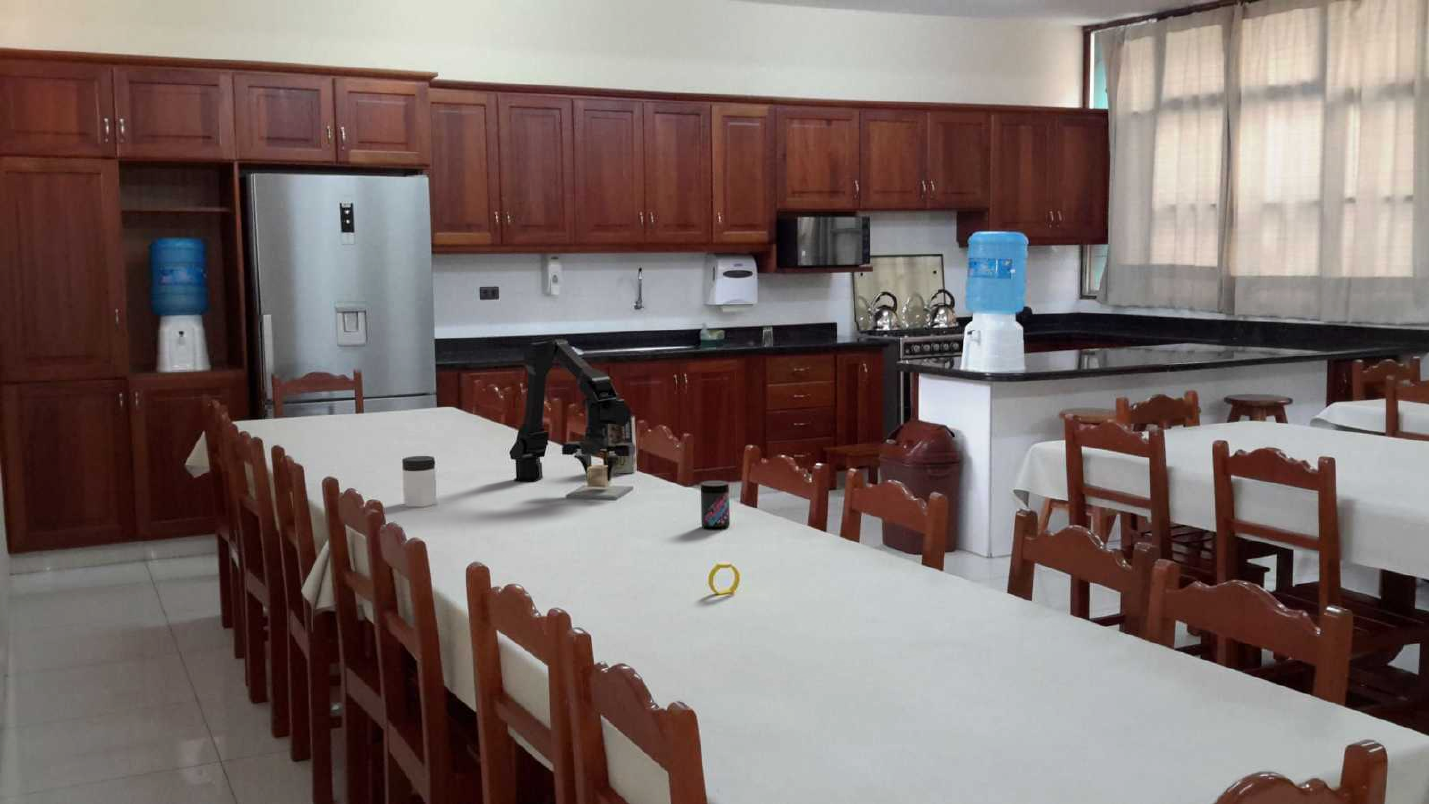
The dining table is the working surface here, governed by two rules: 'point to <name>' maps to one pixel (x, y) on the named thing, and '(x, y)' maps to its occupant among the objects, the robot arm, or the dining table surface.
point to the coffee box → (625, 436)
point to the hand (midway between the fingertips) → (599, 480)
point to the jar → (419, 481)
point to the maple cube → (598, 476)
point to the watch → (719, 565)
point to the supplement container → (715, 505)
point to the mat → (600, 492)
